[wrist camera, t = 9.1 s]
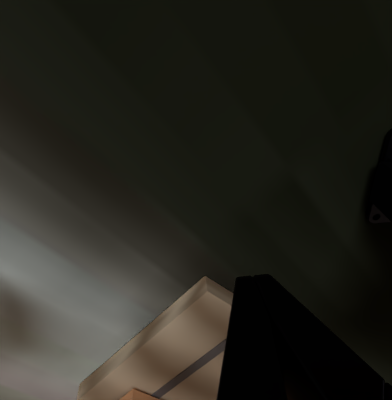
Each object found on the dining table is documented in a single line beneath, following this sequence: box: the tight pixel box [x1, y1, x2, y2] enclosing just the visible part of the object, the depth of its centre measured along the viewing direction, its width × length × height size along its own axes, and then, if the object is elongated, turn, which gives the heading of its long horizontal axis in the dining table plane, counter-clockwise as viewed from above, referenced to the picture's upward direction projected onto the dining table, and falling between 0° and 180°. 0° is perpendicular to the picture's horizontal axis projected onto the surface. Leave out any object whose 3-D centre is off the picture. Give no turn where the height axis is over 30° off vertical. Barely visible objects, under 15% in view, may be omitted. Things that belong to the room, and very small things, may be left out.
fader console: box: [77, 276, 233, 400], centre depth 29 cm, size 16×10×2 cm, turn 138°
